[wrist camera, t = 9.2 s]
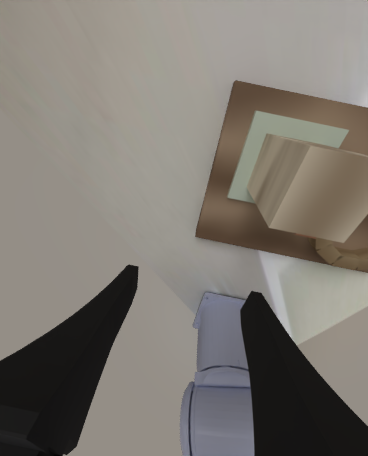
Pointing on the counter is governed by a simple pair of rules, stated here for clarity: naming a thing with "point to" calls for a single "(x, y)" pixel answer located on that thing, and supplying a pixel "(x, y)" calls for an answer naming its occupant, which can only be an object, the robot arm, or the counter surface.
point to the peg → (310, 188)
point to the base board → (248, 212)
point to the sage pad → (280, 127)
